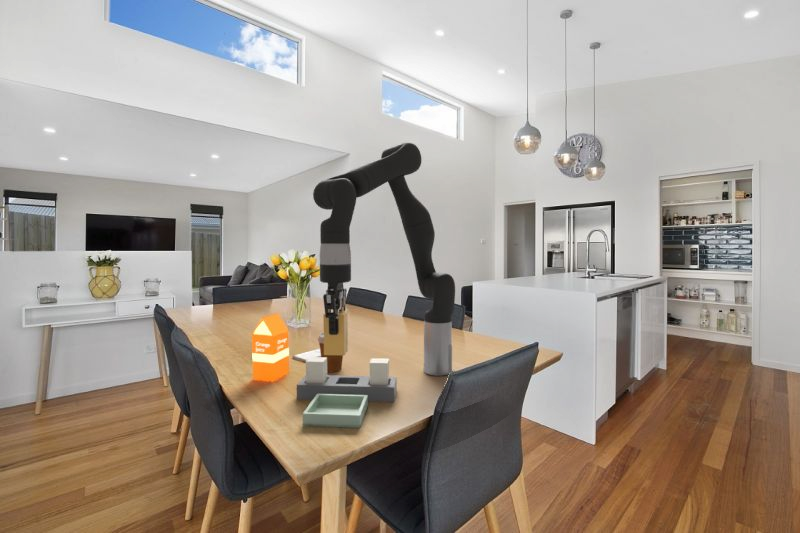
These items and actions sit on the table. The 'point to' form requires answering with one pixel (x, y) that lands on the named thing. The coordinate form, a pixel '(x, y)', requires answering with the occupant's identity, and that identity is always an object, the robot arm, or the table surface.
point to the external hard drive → (307, 355)
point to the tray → (336, 411)
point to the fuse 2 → (379, 371)
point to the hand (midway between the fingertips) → (336, 331)
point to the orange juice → (270, 349)
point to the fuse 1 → (316, 370)
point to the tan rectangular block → (336, 336)
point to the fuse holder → (348, 388)
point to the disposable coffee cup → (330, 357)
